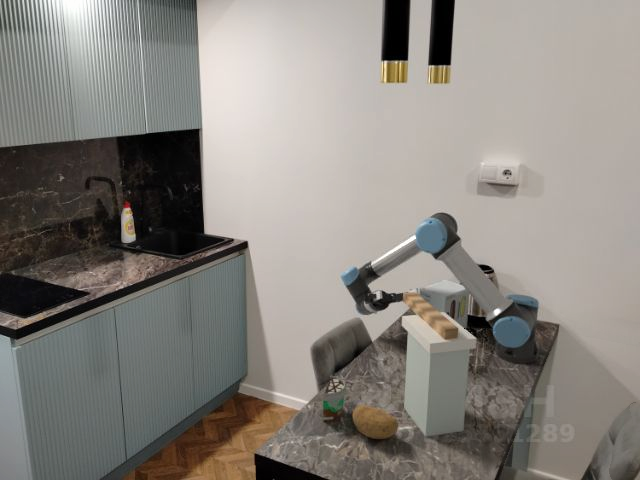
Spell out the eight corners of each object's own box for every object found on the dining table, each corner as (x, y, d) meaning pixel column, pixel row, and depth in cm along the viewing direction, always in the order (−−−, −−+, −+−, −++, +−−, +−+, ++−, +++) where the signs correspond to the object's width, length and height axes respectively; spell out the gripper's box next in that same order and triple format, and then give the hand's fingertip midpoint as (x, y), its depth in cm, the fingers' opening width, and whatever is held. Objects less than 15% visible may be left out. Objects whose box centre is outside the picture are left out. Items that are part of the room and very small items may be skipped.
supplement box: (442, 339, 236) (445, 296, 232) (416, 329, 246) (418, 288, 241) (467, 327, 248) (471, 286, 243) (441, 318, 257) (444, 278, 252)
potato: (387, 452, 164) (388, 427, 162) (345, 435, 172) (345, 410, 170) (404, 436, 172) (406, 411, 170) (363, 420, 180) (364, 396, 178)
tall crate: (398, 404, 189) (402, 316, 181) (438, 398, 192) (444, 312, 184) (424, 440, 170) (430, 343, 162) (468, 433, 174) (476, 338, 166)
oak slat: (402, 301, 193) (403, 292, 192) (414, 300, 194) (414, 291, 193) (444, 339, 165) (445, 329, 164) (457, 338, 166) (458, 328, 165)
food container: (342, 426, 177) (343, 396, 174) (322, 424, 178) (322, 394, 175) (349, 405, 188) (349, 376, 186) (330, 403, 189) (330, 374, 187)
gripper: (408, 309, 226) (433, 302, 207) (346, 313, 219) (366, 306, 200) (406, 289, 228) (431, 280, 208) (344, 293, 221) (364, 284, 201)
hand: (399, 293), depth 204 cm, fingers open, 13 cm apart
